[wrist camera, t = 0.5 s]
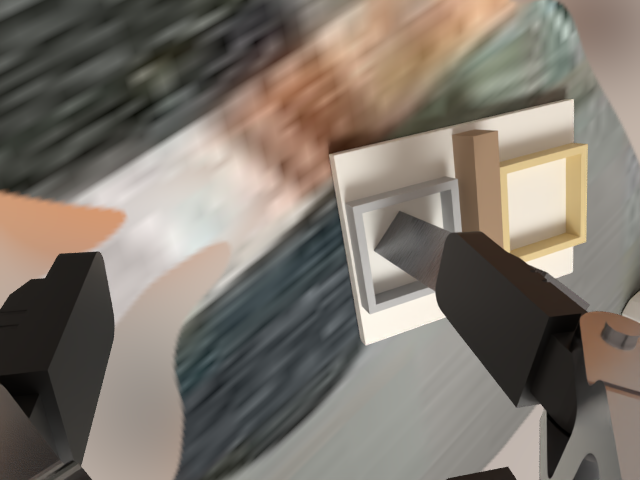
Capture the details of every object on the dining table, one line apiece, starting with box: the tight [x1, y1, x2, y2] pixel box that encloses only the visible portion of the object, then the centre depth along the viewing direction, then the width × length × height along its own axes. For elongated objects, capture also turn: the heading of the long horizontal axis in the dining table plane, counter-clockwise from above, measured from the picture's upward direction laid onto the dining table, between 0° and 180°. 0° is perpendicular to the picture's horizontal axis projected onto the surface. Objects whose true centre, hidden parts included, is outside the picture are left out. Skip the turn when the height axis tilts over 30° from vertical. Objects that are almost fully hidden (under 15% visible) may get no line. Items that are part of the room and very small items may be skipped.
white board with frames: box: [329, 99, 588, 345], centre depth 35 cm, size 20×15×4 cm
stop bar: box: [374, 211, 589, 310], centre depth 27 cm, size 4×4×14 cm
